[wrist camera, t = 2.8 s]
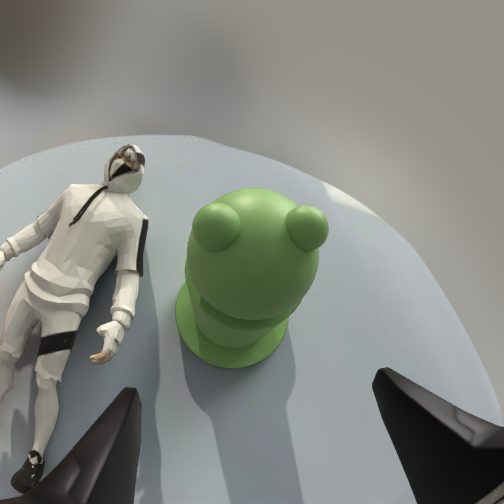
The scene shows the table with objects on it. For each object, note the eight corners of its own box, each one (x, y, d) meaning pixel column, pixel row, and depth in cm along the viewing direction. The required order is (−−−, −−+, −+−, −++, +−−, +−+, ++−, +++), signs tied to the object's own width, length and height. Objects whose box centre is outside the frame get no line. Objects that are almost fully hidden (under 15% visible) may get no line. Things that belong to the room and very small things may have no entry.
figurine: (-66, 415, 8) (77, 106, 20) (-28, 409, 14) (90, 148, 26) (58, 519, 9) (209, 153, 21) (81, 488, 15) (202, 194, 27)
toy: (289, 364, 21) (407, 338, 8) (178, 369, 20) (120, 357, 7) (279, 262, 25) (353, 135, 11) (177, 263, 23) (148, 123, 10)
